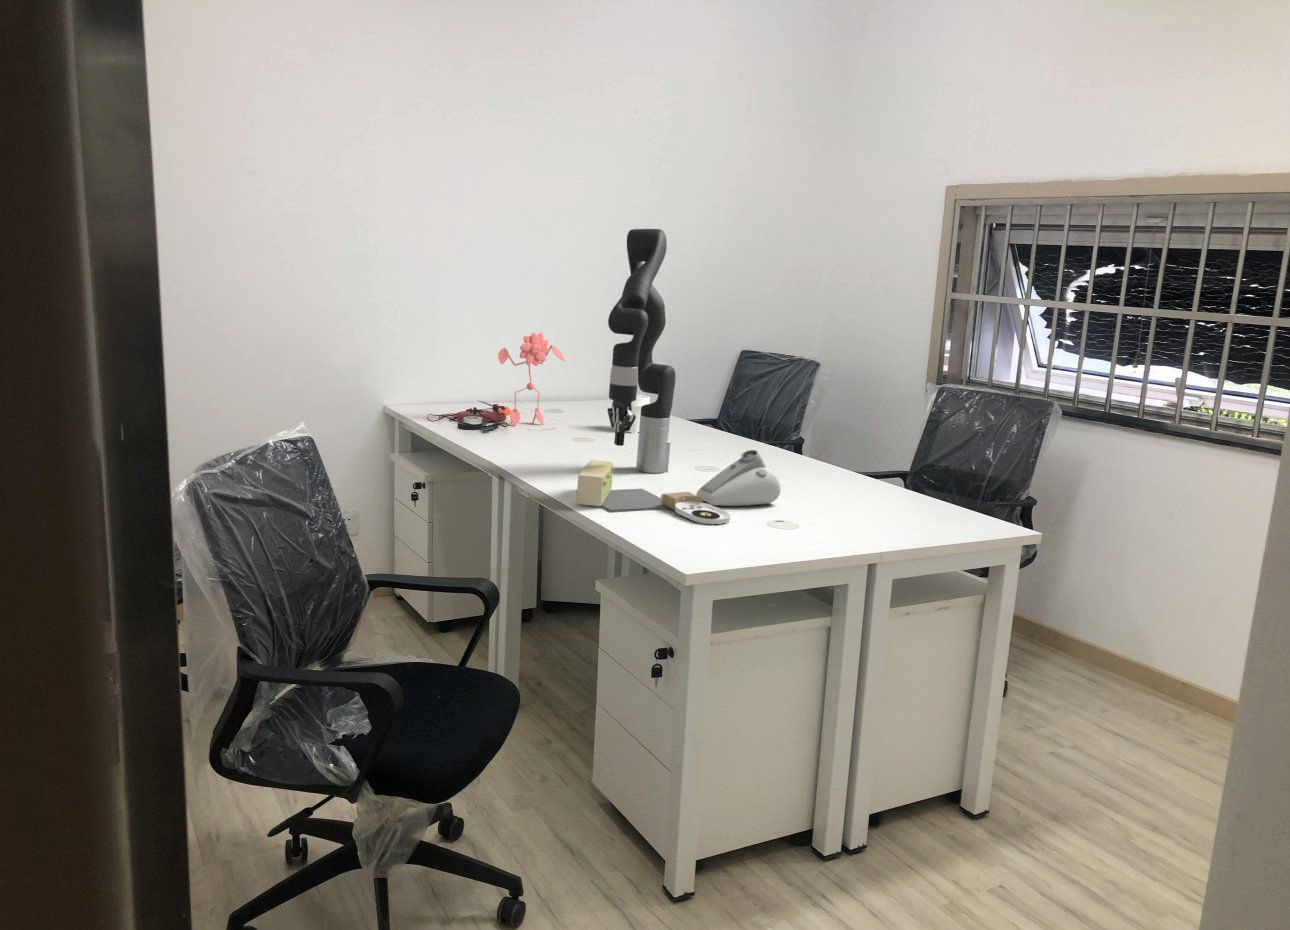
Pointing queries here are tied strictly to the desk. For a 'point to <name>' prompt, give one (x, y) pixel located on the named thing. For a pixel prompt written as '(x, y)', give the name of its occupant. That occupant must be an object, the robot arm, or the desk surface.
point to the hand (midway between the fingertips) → (618, 445)
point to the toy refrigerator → (594, 483)
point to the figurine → (533, 353)
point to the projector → (742, 483)
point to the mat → (631, 501)
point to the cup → (638, 411)
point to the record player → (694, 508)
